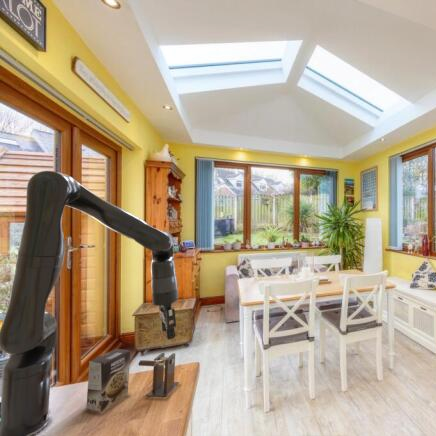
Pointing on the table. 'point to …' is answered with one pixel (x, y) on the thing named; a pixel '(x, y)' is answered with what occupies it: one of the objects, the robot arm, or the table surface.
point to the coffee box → (108, 379)
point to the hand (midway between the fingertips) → (168, 334)
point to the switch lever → (153, 362)
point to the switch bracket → (168, 384)
